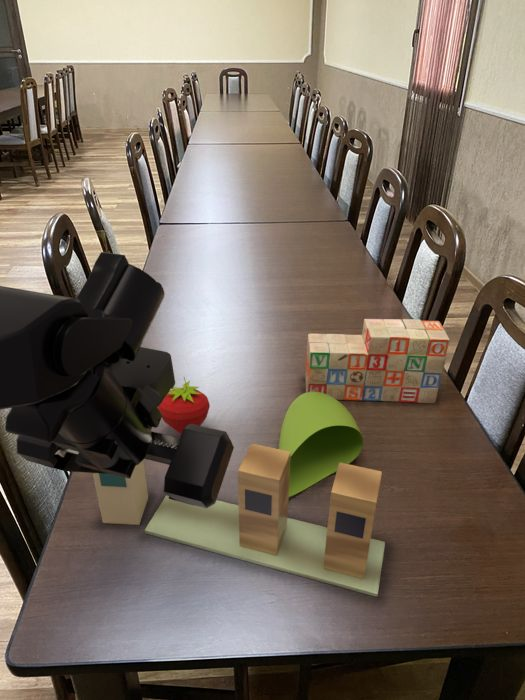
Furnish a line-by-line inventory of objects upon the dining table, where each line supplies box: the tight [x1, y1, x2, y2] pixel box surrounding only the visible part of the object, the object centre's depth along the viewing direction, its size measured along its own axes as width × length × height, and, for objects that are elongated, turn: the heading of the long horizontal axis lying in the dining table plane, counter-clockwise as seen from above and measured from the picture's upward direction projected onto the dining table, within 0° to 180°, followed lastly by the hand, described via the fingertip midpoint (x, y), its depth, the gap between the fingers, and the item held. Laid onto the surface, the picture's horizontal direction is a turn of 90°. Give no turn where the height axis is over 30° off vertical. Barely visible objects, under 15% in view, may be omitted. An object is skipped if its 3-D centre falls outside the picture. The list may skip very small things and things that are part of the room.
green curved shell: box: [278, 392, 364, 498], centre depth 76 cm, size 8×12×20 cm
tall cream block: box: [92, 460, 149, 526], centre depth 65 cm, size 5×5×12 cm
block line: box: [144, 443, 386, 598], centre depth 61 cm, size 7×28×13 cm, turn 73°
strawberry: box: [158, 376, 211, 436], centre depth 78 cm, size 6×8×10 cm
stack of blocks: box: [304, 318, 450, 404], centre depth 88 cm, size 21×6×12 cm, turn 88°
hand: (151, 479), depth 54 cm, fingers open, 9 cm apart
